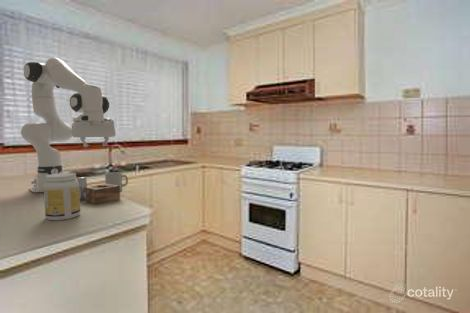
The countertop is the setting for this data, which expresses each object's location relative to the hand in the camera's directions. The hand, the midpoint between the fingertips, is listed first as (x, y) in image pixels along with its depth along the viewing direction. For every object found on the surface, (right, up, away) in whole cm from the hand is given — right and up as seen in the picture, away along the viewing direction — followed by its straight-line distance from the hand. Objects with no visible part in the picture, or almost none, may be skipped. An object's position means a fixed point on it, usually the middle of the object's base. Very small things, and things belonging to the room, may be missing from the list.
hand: (95, 146), depth 142 cm
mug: (+2, -25, +22) cm, 33 cm away
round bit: (-8, -26, +3) cm, 28 cm away
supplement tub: (0, -29, -26) cm, 39 cm away
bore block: (+3, -27, +1) cm, 27 cm away
